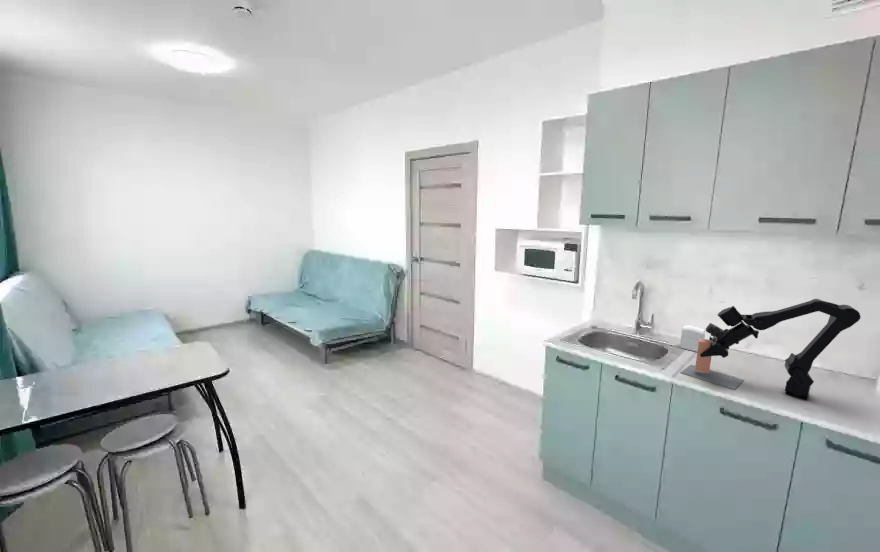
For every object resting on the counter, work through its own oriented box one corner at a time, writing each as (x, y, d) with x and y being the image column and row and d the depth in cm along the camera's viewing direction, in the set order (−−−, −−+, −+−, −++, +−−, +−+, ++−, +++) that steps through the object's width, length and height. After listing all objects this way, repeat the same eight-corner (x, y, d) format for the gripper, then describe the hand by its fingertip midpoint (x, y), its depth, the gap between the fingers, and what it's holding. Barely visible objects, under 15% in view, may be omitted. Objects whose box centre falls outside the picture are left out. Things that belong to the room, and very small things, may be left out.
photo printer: (678, 347, 204) (681, 324, 202) (681, 345, 207) (684, 323, 205) (700, 353, 197) (704, 330, 194) (703, 351, 199) (707, 328, 197)
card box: (709, 368, 173) (713, 340, 170) (709, 372, 169) (713, 343, 166) (695, 365, 176) (699, 338, 173) (695, 369, 172) (699, 341, 169)
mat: (743, 380, 168) (743, 379, 168) (734, 390, 160) (734, 389, 160) (690, 365, 183) (691, 364, 183) (680, 373, 175) (680, 372, 175)
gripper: (719, 313, 173) (686, 333, 181) (722, 325, 158) (686, 345, 166) (739, 334, 171) (705, 352, 179) (744, 347, 155) (706, 367, 163)
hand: (700, 354), depth 172 cm, fingers closed on card box, 5 cm apart
